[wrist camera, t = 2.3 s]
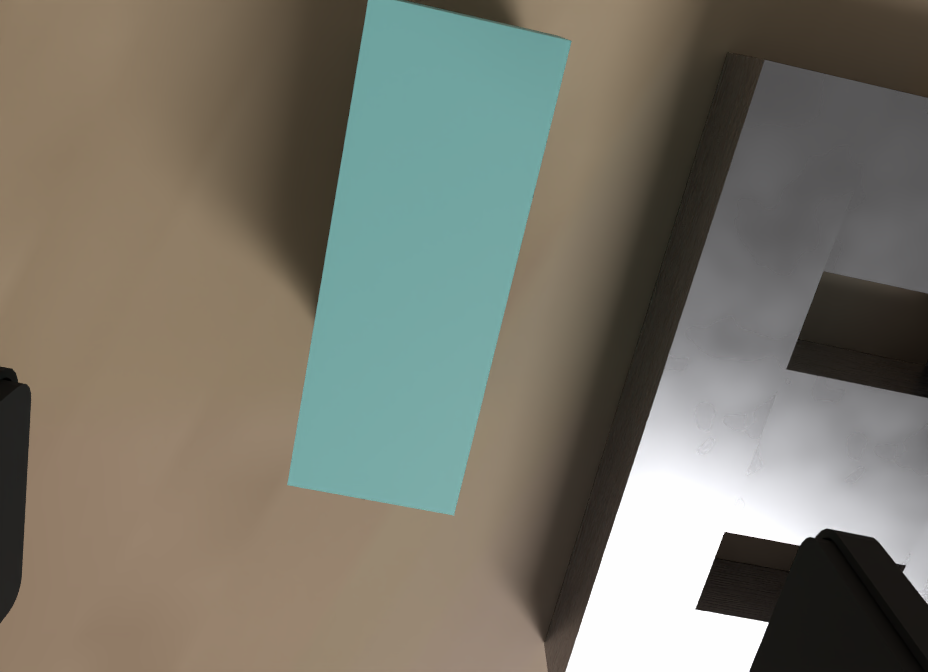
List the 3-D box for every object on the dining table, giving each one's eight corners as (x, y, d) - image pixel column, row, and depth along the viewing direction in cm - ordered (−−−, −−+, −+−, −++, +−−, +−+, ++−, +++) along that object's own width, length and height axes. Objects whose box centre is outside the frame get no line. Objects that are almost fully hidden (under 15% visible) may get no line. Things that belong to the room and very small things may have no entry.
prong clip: (325, 374, 27) (287, 484, 21) (392, -6, 23) (369, -6, 17) (454, 398, 27) (453, 515, 21) (541, 29, 23) (571, 40, 17)
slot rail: (544, 644, 30) (553, 709, 28) (727, 52, 23) (764, 59, 21) (869, 699, 31) (909, 768, 29) (1138, 148, 24) (1226, 167, 22)
